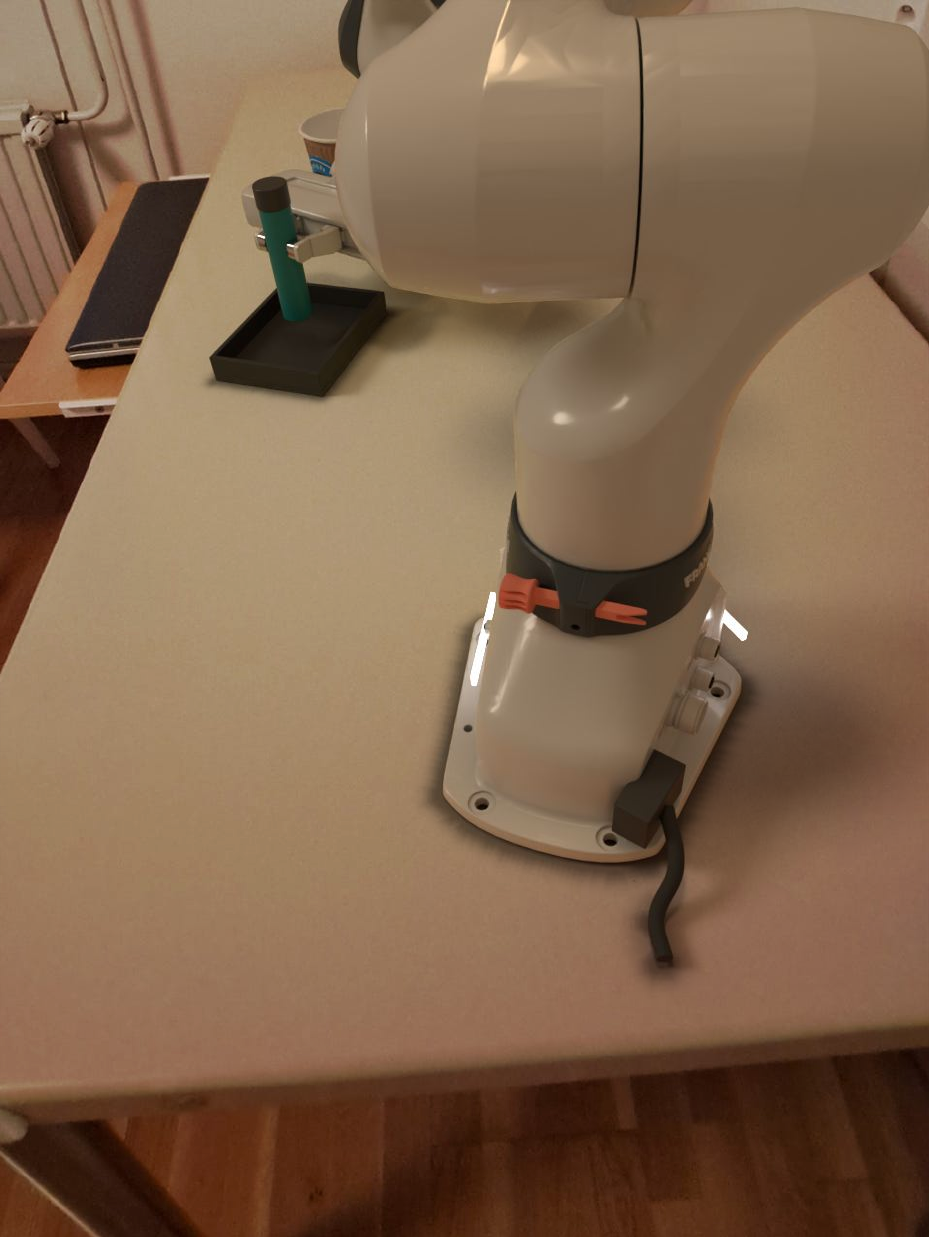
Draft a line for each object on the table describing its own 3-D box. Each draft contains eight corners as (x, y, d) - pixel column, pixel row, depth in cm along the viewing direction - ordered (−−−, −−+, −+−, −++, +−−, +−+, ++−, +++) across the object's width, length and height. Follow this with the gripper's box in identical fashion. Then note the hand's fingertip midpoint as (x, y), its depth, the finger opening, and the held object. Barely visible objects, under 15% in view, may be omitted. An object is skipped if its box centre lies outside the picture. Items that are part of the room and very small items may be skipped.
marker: (304, 323, 93) (276, 191, 84) (276, 320, 94) (245, 189, 85) (319, 307, 95) (292, 177, 86) (291, 304, 96) (262, 174, 87)
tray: (322, 396, 91) (317, 373, 89) (215, 380, 94) (208, 357, 92) (387, 313, 101) (384, 291, 99) (288, 301, 104) (283, 279, 102)
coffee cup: (301, 230, 116) (280, 127, 107) (363, 200, 121) (348, 100, 112) (354, 253, 111) (337, 147, 102) (418, 221, 115) (406, 117, 107)
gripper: (292, 143, 98) (194, 193, 91) (445, 180, 89) (349, 239, 82) (304, 203, 103) (211, 255, 96) (451, 244, 94) (360, 306, 87)
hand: (276, 248), depth 89 cm, fingers closed on marker, 3 cm apart
